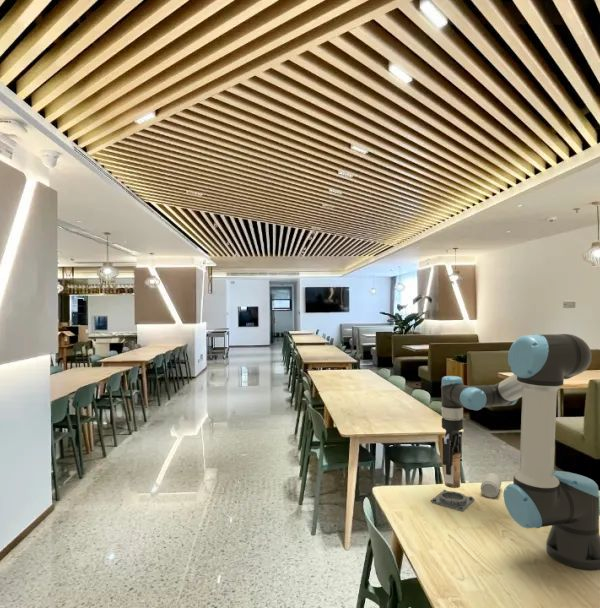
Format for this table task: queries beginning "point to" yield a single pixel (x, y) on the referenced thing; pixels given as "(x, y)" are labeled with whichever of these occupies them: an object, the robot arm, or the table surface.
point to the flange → (453, 500)
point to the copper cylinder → (455, 471)
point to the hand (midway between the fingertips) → (452, 480)
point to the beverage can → (491, 485)
